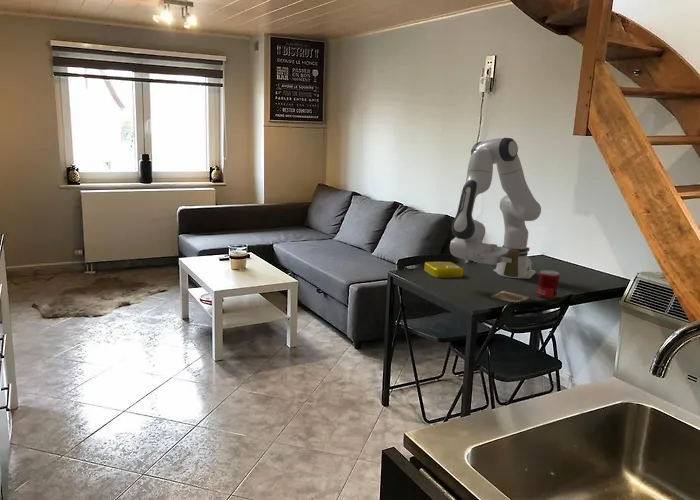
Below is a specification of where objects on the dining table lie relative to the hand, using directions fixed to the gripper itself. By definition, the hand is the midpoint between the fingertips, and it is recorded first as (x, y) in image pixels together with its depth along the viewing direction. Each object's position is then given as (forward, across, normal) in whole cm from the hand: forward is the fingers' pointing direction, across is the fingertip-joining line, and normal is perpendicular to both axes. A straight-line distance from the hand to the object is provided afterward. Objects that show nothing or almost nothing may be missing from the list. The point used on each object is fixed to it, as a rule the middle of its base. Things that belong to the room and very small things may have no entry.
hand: (514, 259), depth 241 cm
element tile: (-41, +14, +18) cm, 47 cm away
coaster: (0, 0, +17) cm, 17 cm away
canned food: (+10, +15, +17) cm, 25 cm away
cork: (-1, 0, +7) cm, 7 cm away
